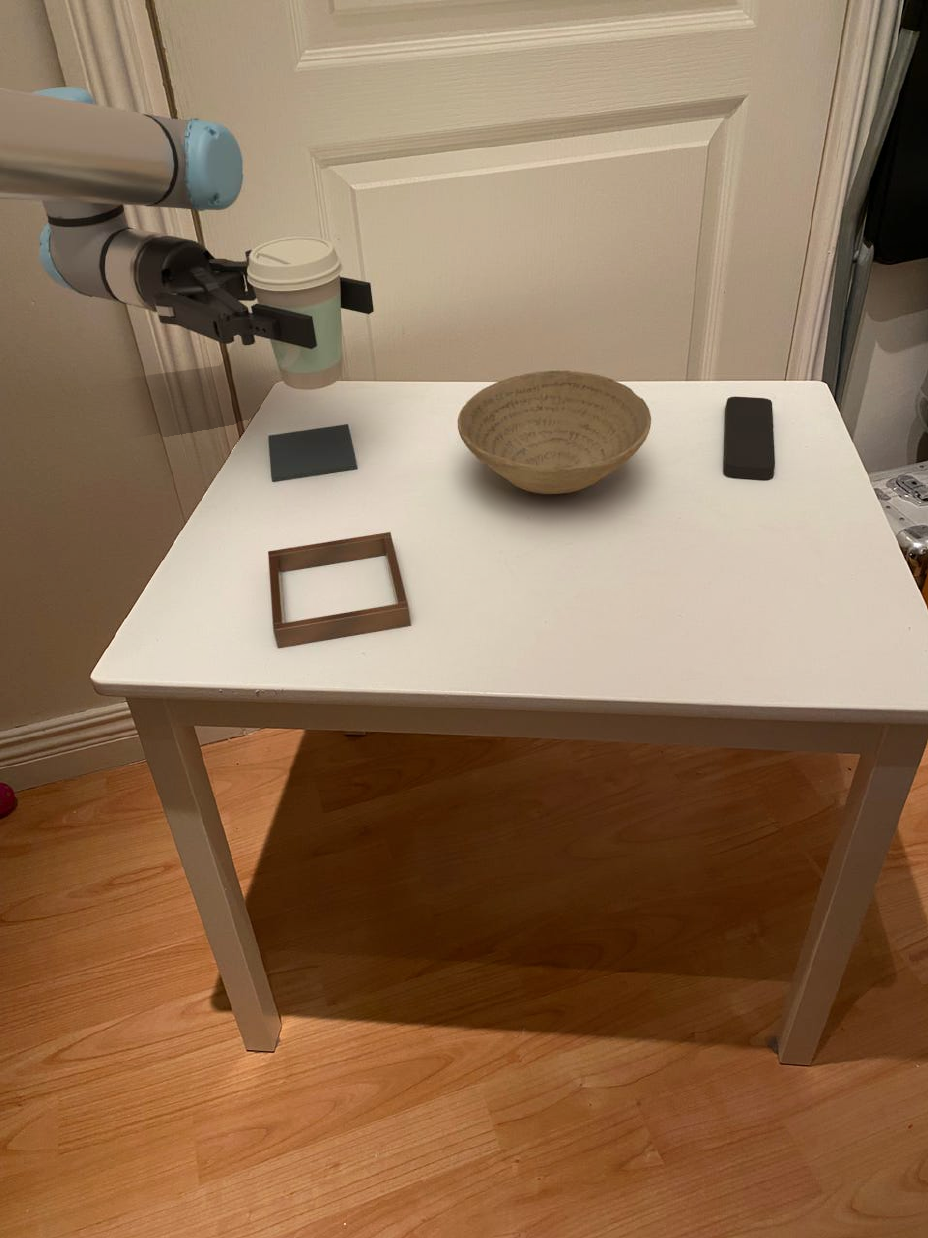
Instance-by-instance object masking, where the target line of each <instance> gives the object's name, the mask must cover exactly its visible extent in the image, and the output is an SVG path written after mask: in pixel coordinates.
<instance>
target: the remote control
mask: <svg viewBox="0 0 928 1238" xmlns="http://www.w3.org/2000/svg"><path fill="white" fill-rule="evenodd" d="M723 432H724V433H723V458H722V459H723V460H722V461H723V462H722V463H723V465H722V473H723V475H725V476H726V477H729V478H736V479H750V480H762V481H763V480H764V481H765V480H771V479H773V478H774V475H775V468H776V455H775V453H776V452H775V434H774V433H775V432H774V410H773V401H772V400H771V399H769V398H765V397H755V396H754V397H751V396H730V397H728V398H727V399H726V401H725V407H724V431H723Z"/></svg>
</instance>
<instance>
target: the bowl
mask: <svg viewBox="0 0 928 1238" xmlns="http://www.w3.org/2000/svg"><path fill="white" fill-rule="evenodd" d="M651 426H652V415H651V411H650V408H649V406H648V404H647V403H646V401H645V400H644V399H643V397H640V396H639V395H637V394H636V392H634V390H632V388H630V387H628V386H627V385H625V384H622V383H621V382H618V381H615V380H614V379H612V378H609V377H607V376H603V375H600V374H596V373H591V372H581V371H570V370H547V371H536V372H529V373H524V374H521V375H515V376H511V377H508V378H506V379H503V380H499V381H497V382H494V383H493V384H490V385H489V386H487V387H484V388H482V389H481V390H479V391H478V392H477V393H475V394H474V395H473V396H472V397H471V398H470V399H468V400H467V401H466V403H465V404H464V405H463V407H462V408H461V410H460V412H459V414H458V418H457V430H458V433H459V436H460V439H461V441H462V442H463V443H464V445H465V446H466V447H467V449H468V450H469V451H470V452H471V453H472V454H473V456H475V457H476V459H478V460H479V461H480V462H481V463H483V464H484V465H485V466H487V467H488V468H490V469H491V470H492V471H493V472H495V473H496V474H498V475H500V476H501V477H502V478H504V479H506V481H508V482H509V483H511V484H512V485H514V486H515V487H517V488H518V489H521V490H523V491H527V492H530V493H534V494H541V495H558V494H559V495H560V494H569V493H573V492H578V491H581V490H583V489H586V488H589V487H590V486H592V485H594V484H596V483H597V482H599V481H601V480H602V479H603V478H605V477H606V476H608V475H610V474H612V473H613V472H614V471H616V470H617V469H619V468H620V467H621V466H622V465H624V464H625V463H627V462H628V461H629V460H630V459H631V458H632V457H633V456H634V455H635V454H636V453H637V452H638V451H639V450H640V449H641V447H642V446H643V445H644V443H645V441H646V440H647V438H648V436H649V433H650V430H651Z"/></svg>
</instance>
